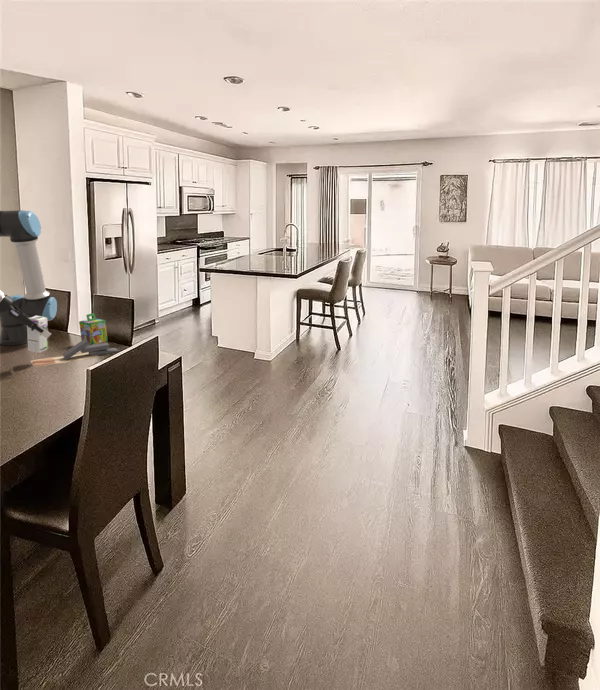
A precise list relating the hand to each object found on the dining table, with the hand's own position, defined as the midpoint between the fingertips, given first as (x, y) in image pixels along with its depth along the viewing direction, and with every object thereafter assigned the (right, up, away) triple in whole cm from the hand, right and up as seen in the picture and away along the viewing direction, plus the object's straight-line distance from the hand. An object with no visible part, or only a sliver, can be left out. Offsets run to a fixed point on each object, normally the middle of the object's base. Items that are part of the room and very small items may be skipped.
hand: (47, 334), depth 226 cm
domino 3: (+13, -8, +12) cm, 20 cm away
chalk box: (+6, -4, +36) cm, 37 cm away
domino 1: (+4, -10, +6) cm, 13 cm away
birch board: (+4, -12, +7) cm, 14 cm away
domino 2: (+10, -7, +10) cm, 16 cm away
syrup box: (-4, -7, 0) cm, 8 cm away
